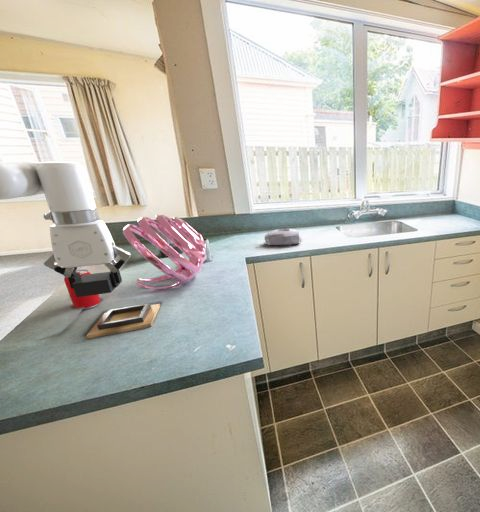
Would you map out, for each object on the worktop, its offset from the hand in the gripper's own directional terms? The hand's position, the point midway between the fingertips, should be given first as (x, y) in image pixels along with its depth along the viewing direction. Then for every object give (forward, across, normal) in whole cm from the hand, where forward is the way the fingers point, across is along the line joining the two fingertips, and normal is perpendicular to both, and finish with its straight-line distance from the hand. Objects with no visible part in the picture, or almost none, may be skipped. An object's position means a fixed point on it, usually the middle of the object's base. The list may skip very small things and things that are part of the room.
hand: (98, 287), depth 74 cm
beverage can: (+16, -14, +28) cm, 35 cm away
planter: (+16, +17, +65) cm, 69 cm away
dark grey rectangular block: (+1, 0, 0) cm, 1 cm away
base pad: (+16, 0, +11) cm, 19 cm away
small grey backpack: (+16, +54, +82) cm, 100 cm away
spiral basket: (+16, +8, +40) cm, 43 cm away
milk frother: (+16, -1, +87) cm, 89 cm away
